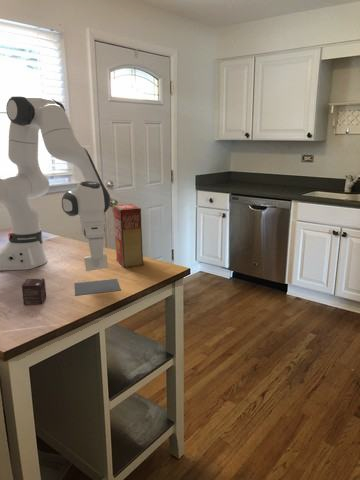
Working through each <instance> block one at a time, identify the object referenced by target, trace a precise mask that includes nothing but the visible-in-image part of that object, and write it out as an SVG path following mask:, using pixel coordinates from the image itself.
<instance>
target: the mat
mask: <svg viewBox="0 0 360 480" xmlns="http://www.w3.org/2000/svg"><path fill="white" fill-rule="evenodd" d="M120 291H122V289H121V286H120V283H119V281H118V278H111V279H102V280H100V279H99V280H93V281H82V282H74V294H75V295H74V296H75V297H76V296H85V295H93V294H102V293H110V292H111V293H112V292H120Z"/></svg>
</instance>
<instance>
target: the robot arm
mask: <svg viewBox="0 0 360 480" xmlns="http://www.w3.org/2000/svg"><path fill="white" fill-rule="evenodd" d="M6 115H7V117H8V119H9V121H10V124H9V130H8V150H7V151H8V153H7V154H8V159H9V160H10V161H11V162H12V163H13V164H14V165H16V167H17V170H18V172H17V173H16V174H15V173H14V174H5V175H2V176H0V202H1V204H3V205H4V206H5V208H6V209H7V211H8V213H9V216H10V220H11V227H12V231H9V232H8V242H7V243H6V244H5V245H4V246H2V248H1V249H0V271H19V270H20V271H21V270H31V269H34V268H36V267H39V266H42V265H45V264H46V263H48V258H47V257H46V253H45V249H44V246H43V242H44V241H43V240H44V239H43V237H44V236H43V232H42V229H41V224H40V222H41V221H40V213H38V211H36V210H35V209H34V208H31V206H30V205H29V200H31V199H32V200H33V199H36V198H39V197H40V198H41V196H44V195H46V194H47V193H48V192H49V189H50V181H49V179H48V177H47V176H46V175H45V174H44V173H43V172H42V170H41V168H40V164H39V133H41V135H42V136H41V137H42V141H43V142H44V146H45V149H46V151H47V152H48V153H49V155H51V156H52V157H53V158H55V159H57V160H60V161H62V162H67V163H69V164H71V165H74V166H75V167H77V168H78V169H79V171H81V173H82V174H81V175H82V176H83V178H84V181H82V182H80V183H78V186H77V187H75V188H73V189H71V190H69V191H66V192H65V193H64V194H63V196H62V197H61V198H62V199H61V208H62V211H63V212H64V213H65V214H66V215H67V216H69V217H79V221H80V234H81V235H82V236H84V238H85V239H86V241H87V244H88V249H89V253H90V256H91V258H92V260H94V267H99V260H102V259H103V254H104V238H106V233H107V223H106V222H107V220H106V216H105V213H107V211H108V210H109V208H110V206H111V204H112V203H111V202H112V198H111V195H110V193H109V191H108V190H107V189H106V187H105V185H104V184H103V181H102V179H101V176H100V174H99V171H97V168H96V165H95V164H94V161H93V160H92V157H91V156H90V154H89V152H88V150H87V149H86V148H85V147H83V146H82V145H81V144H80V142H79V141H78V138H76V136H75V134H74V133H75V132H74V129H73V127H72V124H71V122H70V119H69V118H68V115H67V113H66V109H65V107H64V104H63V103H62V102H61V101H59V100H56V99H54V98H47V97H42V96H39V95H38V96H37V95H35V96H30V95H29V96H27V95H26V96H25V95H14V96H11V97H9V99H8V101H7V102H6ZM39 131H40V132H39Z"/></svg>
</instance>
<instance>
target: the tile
mask: <svg viewBox="0 0 360 480" xmlns="http://www.w3.org/2000/svg"><path fill="white" fill-rule="evenodd" d="M83 260H84V261H83V262H84V267H85V272H91V271H96V270H102V269H108V268H109V262H108V255H107V253H103V259H102V260H99V267H94V260H92V258H91V255H87V256H84V257H83Z"/></svg>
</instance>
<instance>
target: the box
mask: <svg viewBox="0 0 360 480" xmlns="http://www.w3.org/2000/svg"><path fill="white" fill-rule="evenodd" d="M21 289H22V290H21V291H22V293H21V294H22V299H23V301H22V302H23V306H37V305H38V306H39V305H41V306H43V304H44V303H45V301H46V299H47V292H46V291H47V289H46V281H45V278H28V279H26V280H24V282H23V283H22V285H21Z"/></svg>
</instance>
